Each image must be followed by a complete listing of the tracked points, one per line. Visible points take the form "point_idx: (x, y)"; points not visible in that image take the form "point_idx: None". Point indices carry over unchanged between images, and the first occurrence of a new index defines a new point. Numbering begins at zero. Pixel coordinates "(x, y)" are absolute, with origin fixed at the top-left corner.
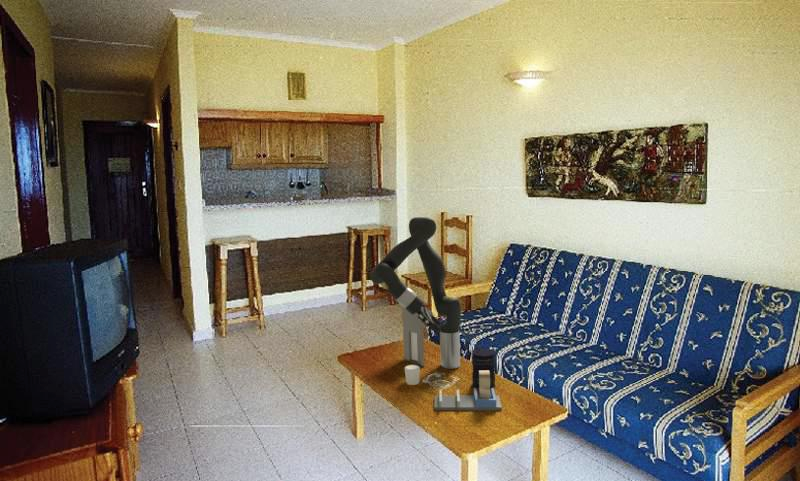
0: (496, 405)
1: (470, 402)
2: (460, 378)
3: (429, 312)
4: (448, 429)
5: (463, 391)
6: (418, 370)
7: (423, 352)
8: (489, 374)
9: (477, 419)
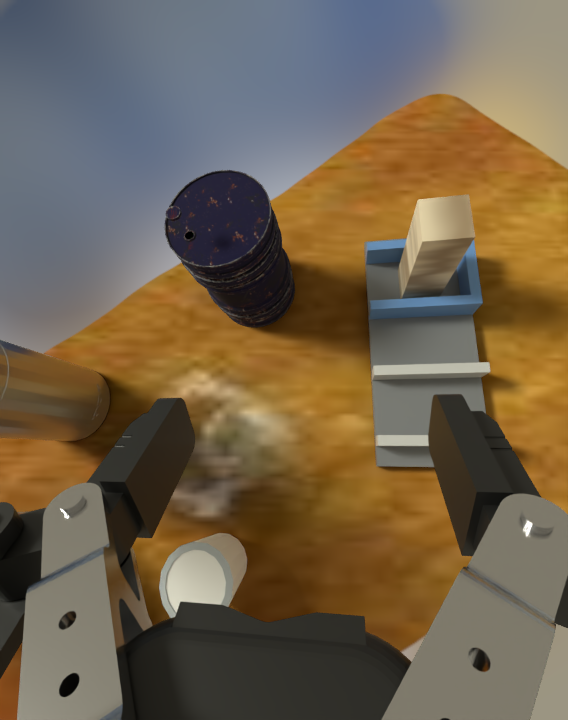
0: None
1: (431, 331)
2: (197, 368)
3: (115, 621)
4: None
5: (311, 358)
6: (219, 548)
7: None
8: (468, 197)
9: (542, 313)
